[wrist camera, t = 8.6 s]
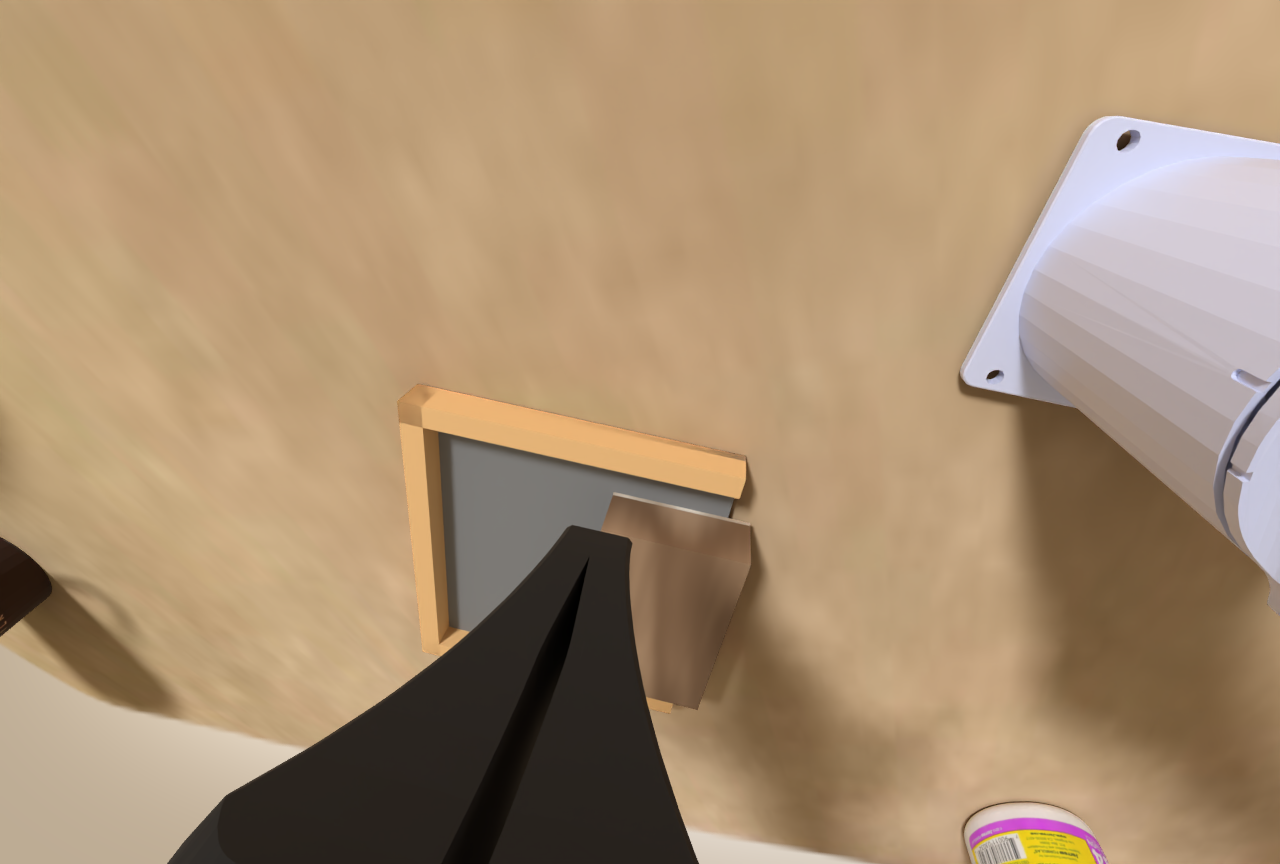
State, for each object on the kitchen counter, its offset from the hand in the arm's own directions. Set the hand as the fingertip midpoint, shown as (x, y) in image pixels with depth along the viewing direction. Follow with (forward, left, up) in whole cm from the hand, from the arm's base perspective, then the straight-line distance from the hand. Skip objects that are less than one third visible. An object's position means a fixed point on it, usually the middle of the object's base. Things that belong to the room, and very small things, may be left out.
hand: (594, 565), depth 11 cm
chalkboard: (+3, +11, -10) cm, 15 cm away
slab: (-5, +11, -9) cm, 15 cm away
